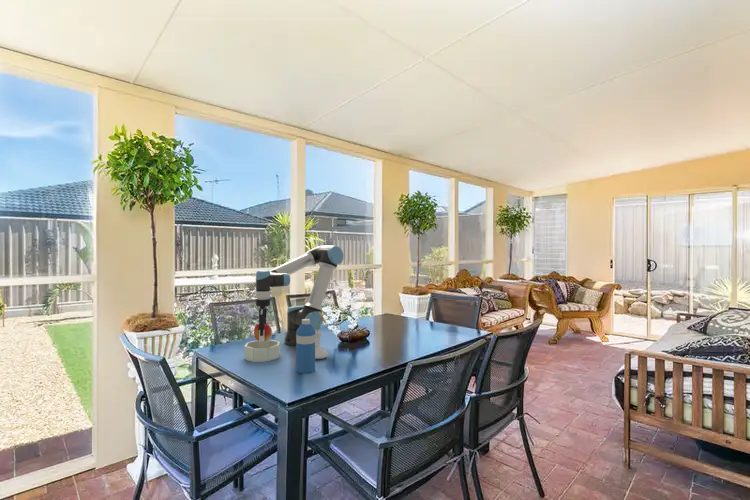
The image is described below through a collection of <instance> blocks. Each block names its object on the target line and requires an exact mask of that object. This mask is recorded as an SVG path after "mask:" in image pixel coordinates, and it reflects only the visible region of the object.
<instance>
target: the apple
mask: <svg viewBox="0 0 750 500" xmlns="http://www.w3.org/2000/svg"><path fill="white" fill-rule="evenodd" d="M258 328H259V323H257V324H255V326H254V329H253V336H254V339H255V341H256V340H257V341H259V330H258ZM272 333H273V329H272V327H271V326H270V324H264V342H265V341H267V340H270V339H271V336H272Z"/></svg>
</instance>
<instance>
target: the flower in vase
mask: <svg viewBox="0 0 750 500" xmlns="http://www.w3.org/2000/svg"><path fill="white" fill-rule="evenodd" d="M319 313H320V316H321V319H322V320H323V323H324V324H325V325H326V324H327V320H326V318H325V317H324V316H323V313H322V314H321V312H320V311H319ZM321 319H320V320H321ZM319 322H320V321H319ZM320 329H321V326H319V323H318V328H317V329H316V330H315V360H322V359H325V358H327V357H328V355H329V354H328V352H327V351H326V350H325V348H323V347H321V341H320V340H321V336H322V334H323V332H322V331H319V330H320Z"/></svg>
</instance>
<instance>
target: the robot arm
mask: <svg viewBox="0 0 750 500" xmlns="http://www.w3.org/2000/svg"><path fill="white" fill-rule="evenodd" d="M344 257H345V256H344V252H343V250H342V248H341V247H339V246H338V245H325V244H324V245H319V246H316V247H314V248H312V249H310V250H308V251H305V253H304V254H303V255H300V256H299V257H296V258H294V259H292V260H290V261H288V262H286V263H283V264H281V265H280V266H277V267H275V268H273V269H271V270H269V269H268V270H261V269H260V270H257V271H256V272H255V273H256V275H255V292H254V295H255V298H256V299H255V306H256V307H260V308H259V309H258V324H259V328H258V330H259V342H264V324H268V322H267V312H268V309H267V307H269V306H270V305H271V299H270V298H271V288H277V287H279V288H280V287H283V288H284V287H287V286H289V285H290V284H291V275H292V274H294V273H296V272H298V271H300V270H303V269H305V268H306V267H309V266H314V265H317V264H318V265H319V268H318V272H317V274H316V276H315V280H314V283H313V286H312V289H311V291H310V295H309V298H308V300H307V303H305V304H304V305H293V306H289V307H288V308H287V312H286V314H287V317H286V319H287V322H286V323H287V324H286V325H287V327H286V334H285V336H284V340H283V341H284V342H283V343H284V345H287V346H296V331H297V329H298V328H299V327H300V325H301V324H302V319H310V324H311V326H312V327H313V328H314V330H315V331H317V330H316V329H317V328H318V323H319V326H320V327H321V326H322V325H323V323H324V321H323V320H322V319H321V316H320V313H319V311H320V312H321V314H322V315H323V308H322V305H323V302H324V300H325V297H326V293H327V290H328V288H329V284H330V282H331V278H332V275H333V271H335V270H337V267H338V265H340V264H342V262H343V261H344ZM320 319H321V320H320ZM319 321H320V322H319ZM268 325H269V324H268Z"/></svg>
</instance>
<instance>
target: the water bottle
mask: <svg viewBox="0 0 750 500" xmlns="http://www.w3.org/2000/svg"><path fill="white" fill-rule="evenodd" d="M315 332H316V330H314V328H313V327H312V326H311V324H310V319H302V324H301V325H300V327H299V328H298V329H297V331H296V345H295V346H296V347H295V352H296V353H295V371H296V373H298V374H304V375H305V374H311V373H313V372H315V371H316V359H315V344H316V340H315Z"/></svg>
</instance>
